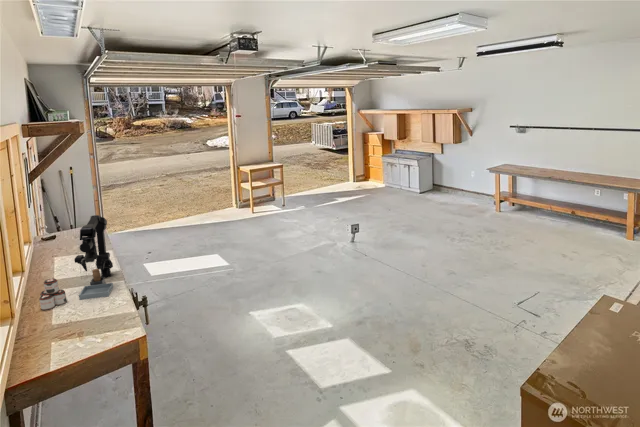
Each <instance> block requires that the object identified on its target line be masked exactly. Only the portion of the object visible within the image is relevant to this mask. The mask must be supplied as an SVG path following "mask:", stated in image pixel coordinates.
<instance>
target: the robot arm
mask: <svg viewBox="0 0 640 427" xmlns="http://www.w3.org/2000/svg"><path fill="white" fill-rule="evenodd" d="M107 225H108V221H107V219H106V218H105V217H103V216H101V215H99V214H98V215H97V214H95V215H91V216H90V217H89V220H88V222H87V224H85V225H82V226H81V228H80V230H79V241H82V242H81V244H80V245H79V250H80V251H81V252H82V253H85V254H80V255H76V256H75V258H74V263H77V264H78V265H81V267H82V268H83V269H84V271H85V272H88V269H87V268H88V266H87V263H95V266H96V269H99V270H100V277H105V278H111V277H112V275H113V273H111V269H112V268H114V266H113V265H114V264H113V262H112V260H111V258H110V257H111V254H110V252H109V251H107V246H106V236H105V234H106V233H105V230H106V229H107ZM96 240H97V243H96ZM96 244H97V245H96ZM95 260H96V261H95Z"/></svg>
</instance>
